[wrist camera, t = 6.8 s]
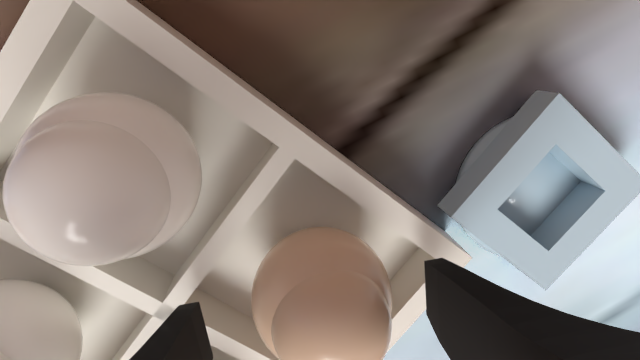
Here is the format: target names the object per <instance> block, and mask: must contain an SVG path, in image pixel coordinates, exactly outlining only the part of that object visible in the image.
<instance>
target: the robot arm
mask: <svg viewBox="0 0 640 360" xmlns="http://www.w3.org/2000/svg"><path fill="white" fill-rule="evenodd" d="M424 267H425V290H426V312H427V316H428V318H429V321H430V323H431V325H432V327H433V329H434V331H435V333H436V336H437V338H438V340H439V342H440V343H441V345H442V347H443V348H444V350H445V351H446V353H447V355H448V356H449V358H450V359H451V360H640V333H639V332H635V331H630V330H625V329H621V328H617V327H613V326H609V325H605V324H601V323H598V322H594V321H591V320H587V319H584V318H580V317H577V316H574V315H571V314H567V313H564V312H562V311H559V310H556V309H553V308H550V307H548V306H545V305H542V304H539V303H537V302H534V301H532V300H529V299H527V298H525V297H522V296H520V295H518V294H515V293H513V292H511V291H509V290H506V289H504V288H502V287H500V286H498V285H496V284H494V283H492V282H490V281H488V280H486V279H484V278H482V277H480V276H478V275H476V274H474V273H472V272H470V271H468V270H466V269H464V268H463V267H461V266H459V265H457V264H455V263H453V262H451V261H449V260H446V259H444V258H438V259H432V260H427V261H424ZM129 360H213V353H212V349H211V345H210V341H209V338H208V334H207V330H206V326H205V322H204V318H203V315H202V311H201V307H200V303H199V302H194V303H188V304H183V305H179V306H178V307H177V308H176V309H175V310H174V311H173V312H172V313H171V314H170V316H169V317H168V318H167V319H166V320H165V321H164V322H163V323H162V325H161V326H160V327H159V328H158V329H157V330H156V331H155V332H154V334H153V335H152V336H151V337H150V338H149V339H148V340H147V341H146V342H145V344H144V345H143V346H142V347H141V348H140V349H139V350H138V351H137V352H136V353H135V354H134V355H133V356H132V357H131V358H130V359H129Z"/></svg>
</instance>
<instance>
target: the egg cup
mask: <svg viewBox="0 0 640 360" xmlns="http://www.w3.org/2000/svg"><path fill="white" fill-rule="evenodd" d="M639 193H640V174H639V173H638V172H637V171H636V170H635V169H634V168H633V167H632V166H631V165H630V164H629V163H628V162H627V161H626V160H625V159H624V158H623V157H622V156H621V155H620V154H619V153H618V152H617V151H616V150H615V149H614V148H613V147H612V146H611V145H610V144H609V143H608V142H607V141H606V140H605V139H604V138H603V136H602V135H601V134H600V133H599V132H598V131H597V130H596V129H595V128H594V127H593V126H592V125H591V124H590V123H589V122H588V121H587V120H586V119H585V118H584V117H583V116H582V115H581V114H580V113H579V112H578V111H577V110H576V109H575V108H574V107H573V106H572V105H571V104H570V103H569V102H568V101H567V100H566V99H565V98H564V97H563V96H562V95H561V94H560V93H556V92H548V91H539V90H536V91H535V92H534V93H533V94H532V95H531V97H530V98H529V99H528V100H527V101H526V102H525V104H524V105H523V106H522V107H521V108H520V109H519V111H518V112H517V113H516V114H515V115H514V116H513V117H512V118H509V119H507V120H505V121H503V122H501V123H499V124H497V125H496V126H494V127H493V128H491V129H490V130H489V131H488V132H486V133H485V134H484V135H483V136H482V137H481V138H480V139H479V140H478V141H477V142H476V143H475V144H474V146H473V147H472V148H471V150H470V151H469V153H468V154H467V156H466V158H465V159H464V161H463V163H462V165H461V168H460V170H459V173H458V176H457V179H456V184H455V185H454V186H453V187H452V189H451V190H450V191H449V192H448V193H447V194H446V196H445V197H444V198H443V199H442V200H441V201H440V203H439V204H438V205H437V206H438V207H439V208H441V209H442V210H443V211H444V212H445V213H446V214H447V215H449V216H450V217H451V218H452V219H454V220H455V221H456V222H457V223H459V224H460V225H461V226H462V228H463V229H464V231H465V232H466V233H467V235H468V236H469V237H470V238H471V239H472V240H474V241H475V242H476V243H477V244H478V245H479V246H480V247H482V248H483V249H485V250H487V251H489V252H491V253H493V254H496V255H500V256H502V257H503V258H504V259H506V260H507V261H508V262H510V263H511V264H512V265H513V266H515V267H516V268H517V269H519V270H520V271H521V272H523V273H524V274H525V275H526V276H528V277H529V278H530V279H532V280H533V281H534V282H536V283H537V284H538V285H539V286H541V287H542V288H543V289H545V290H547V289H548V288H549V287H550V286H551V285H552V284H553V283H554V282H555V280H556V279H557V278H558V277H559V276H560V275H561V274H562V273H563V272H564V271H565V270H566V269H567V268H568V267H569V266H570V265H571V264H572V263H573V262H574V261H575V260H576V259H577V258H578V257H579V256H580V255H581V253H582V252H583V251H584V250H585V249H586V248H587V247H588V246H589V245H590V244H591V243H592V242H593V241H594V240H595V239H596V238H597V237H598V236H599V235H600V234H601V233H602V232H603V231H604V230H605V229H606V227H607V226H608V225H609V224H610V223H611V222H612V221H613V220H614V219H615V218H616V217H617V216H618V215H619V214H620V213H621V212H622V211H623V210H624V209H625V208H626V207H627V206H628V205H629V204H630V203H631V202H632V200H633V199H634V198H635V197H636V196H637V195H638V194H639Z"/></svg>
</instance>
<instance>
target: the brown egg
mask: <svg viewBox="0 0 640 360" xmlns="http://www.w3.org/2000/svg"><path fill="white" fill-rule="evenodd" d="M251 308H252V315H253V320H254V323H255V326H256V329H257V331H258V333H259V335H260V337H261V339H262V341H263V342H264V343H265V345H266V346H267V348H268V349H269V350H270V351H271V352H272V353H273V354H274V355H275V356H276V357H277V358H278V359H280V360H383V358H384V357H385V354H386V352H387V350H388V347H389V343H390V340H391V332H392V318H391V311H392V290H391V283H390V280H389V277H388V274H387V271H386V269H385V267H384V265H383V263H382V261H381V260H380V258H379V257H378V255H377V254H376V253H375V252H374V250H373V249H372V248H371V247H370V246H369V245H368V244H367V243H365V242H364V241H363V240H362V239H360V238H359V237H357V236H355V235H353V234H352V233H349V232H347V231H344V230H341V229H337V228H333V227H311V228H306V229H302V230H299V231H297V232H294V233H292V234H290V235H288V236H286V237H285V238H283V239H282V240H280V241H279V242H278V243H277V244H276V245H274V246H273V247H272V248H271V249H270V251H269V252H268V253H267V254H266V256H265V257H264V259H263V260H262V262H261V263H260V265H259V267H258V269H257V272H256V275H255V278H254V281H253V286H252V292H251Z"/></svg>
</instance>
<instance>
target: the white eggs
mask: <svg viewBox="0 0 640 360" xmlns="http://www.w3.org/2000/svg"><path fill="white" fill-rule="evenodd" d="M201 186H202V168H201V162H200V157H199V154H198V151H197V148H196V146H195V144H194V142H193V140H192V138H191V136H190V135H189V133H188V132H187V130H186V129H185V128H184V127H183V125H182V124H181V123H180V122H179V121H178V120H177V119H176V118H175V117H174V116H172V115H171V114H170V113H169V112H167V111H166V110H165V109H163V108H161V107H160V106H158V105H156V104H154V103H152V102H150V101H148V100H145V99H143V98H140V97H136V96H133V95H129V94H124V93H116V92H97V93H88V94H83V95H78V96H76V97H73V98H70V99H67V100H64V101H62V102H60V103H58V104H56V105H54V106H52V107H51V108H49V109H48V110H47V111H45V112H44V113H42V114H41V115H40V116H38V117H37V118H36V119H35V120H34V121H33V122H32V123H31V124H30V126H29V127H28V128H27V130H26V131H25V133H24V134H23V135H22V137H21V139H20V141H19V143H18V145H17V147H16V149H15V152H14V156H13V158H12V160H11V162H10V164H9V166H8V168H7V171H6V174H5V177H4V182H3V189H2V195H3V204H4V209H5V212H6V215H7V218H8V220H9V222H10V224H11V226H12V228H13V229H14V231H15V232H16V234H17V235H18V236H19V237H20V238H21V240H22V241H23V242H24V243H26V244H27V245H28V246H29V247H30V248H32V249H33V250H34V251H36V252H37V253H39V254H41V255H43V256H45V257H47V258H49V259H51V260H54V261H57V262H60V263H65V264H69V265H76V266H97V265H105V264H110V263H114V262H117V261H120V260H123V259H128V258H133V257H137V256H140V255H142V254H145V253H148V252H150V251H152V250H154V249H156V248H158V247H160V246H161V245H163V244H164V243H166V242H167V241H169V240H170V239H171V238H172V237H174V236H175V235H176V234H177V233H178V232H179V231H180V230H181V229H182V228H183V226H184V225H185V224H186V223H187V221H188V220H189V218H190V217H191V215H192V213H193V212H194V210H195V207H196V205H197V203H198V199H199V195H200V192H201ZM82 343H83V336H82V328H81V324H80V320H79V318H78V316H77V314H76V312H75V310H74V308H73V307H72V305H71V304H70V303H69V302H68V300H67V299H65V298H64V297H63V296H62V295H61V294H59V293H58V292H57V291H55V290H53V289H52V288H50V287H48V286H45V285H43V284H40V283H37V282H34V281H29V280H21V279H0V360H80V357H81V352H82Z"/></svg>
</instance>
